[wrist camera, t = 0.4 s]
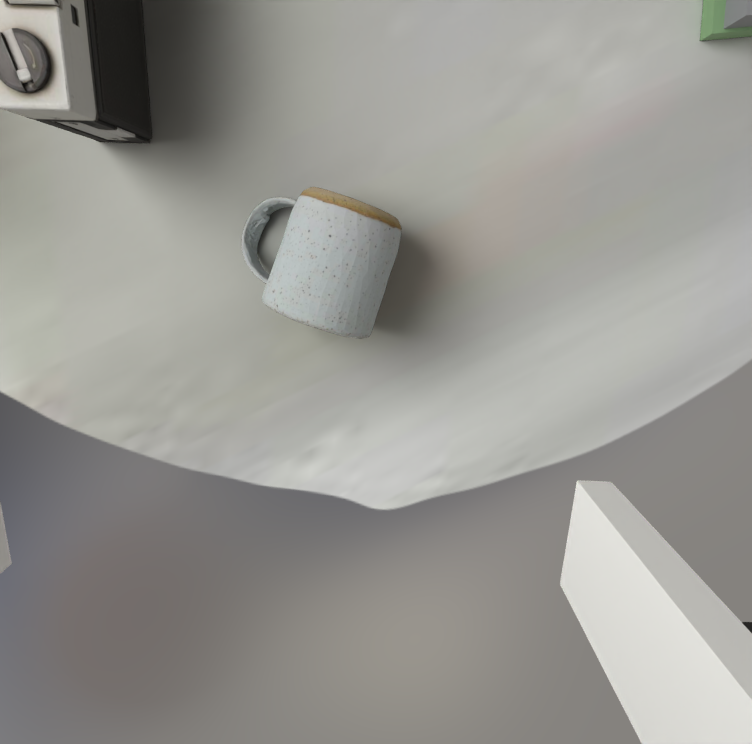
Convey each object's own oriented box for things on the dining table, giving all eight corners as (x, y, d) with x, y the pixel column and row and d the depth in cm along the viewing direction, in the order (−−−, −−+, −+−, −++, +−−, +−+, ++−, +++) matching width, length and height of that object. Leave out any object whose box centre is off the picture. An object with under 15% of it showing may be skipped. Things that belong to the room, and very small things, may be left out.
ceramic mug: (406, 221, 36) (411, 217, 28) (371, 329, 38) (366, 351, 30) (263, 172, 35) (230, 154, 28) (235, 284, 37) (197, 295, 30)
